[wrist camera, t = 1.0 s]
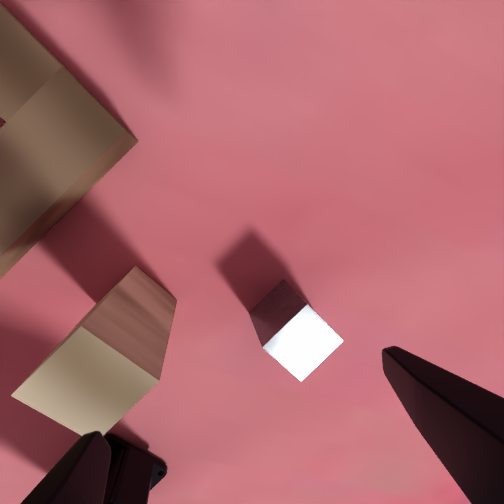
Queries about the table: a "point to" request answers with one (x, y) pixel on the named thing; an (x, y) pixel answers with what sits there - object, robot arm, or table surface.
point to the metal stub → (293, 331)
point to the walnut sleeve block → (46, 140)
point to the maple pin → (105, 358)
